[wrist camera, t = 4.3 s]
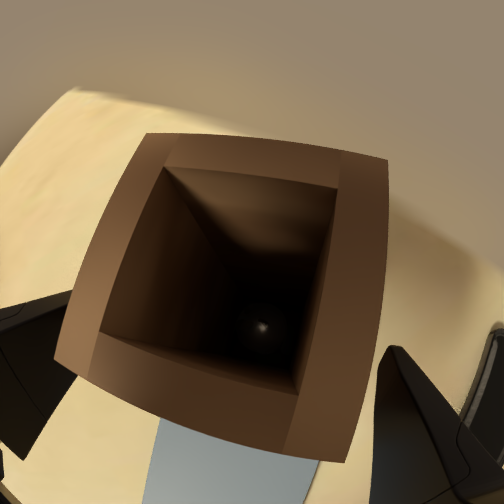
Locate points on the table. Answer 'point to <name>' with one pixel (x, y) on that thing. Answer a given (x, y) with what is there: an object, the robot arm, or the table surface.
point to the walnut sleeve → (235, 288)
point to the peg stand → (265, 333)
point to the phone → (488, 398)
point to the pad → (221, 471)
